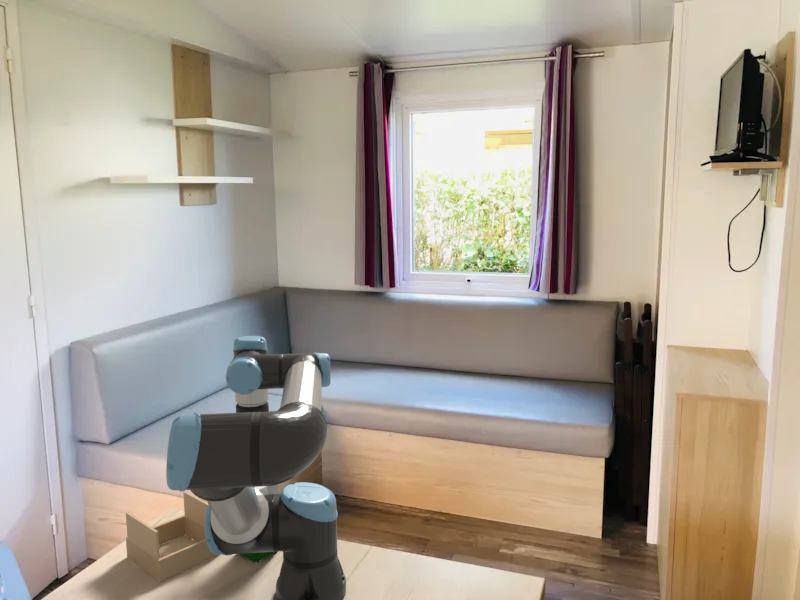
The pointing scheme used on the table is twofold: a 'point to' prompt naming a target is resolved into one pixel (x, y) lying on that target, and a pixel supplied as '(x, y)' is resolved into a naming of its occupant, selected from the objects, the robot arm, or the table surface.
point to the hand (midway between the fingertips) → (255, 488)
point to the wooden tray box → (147, 540)
